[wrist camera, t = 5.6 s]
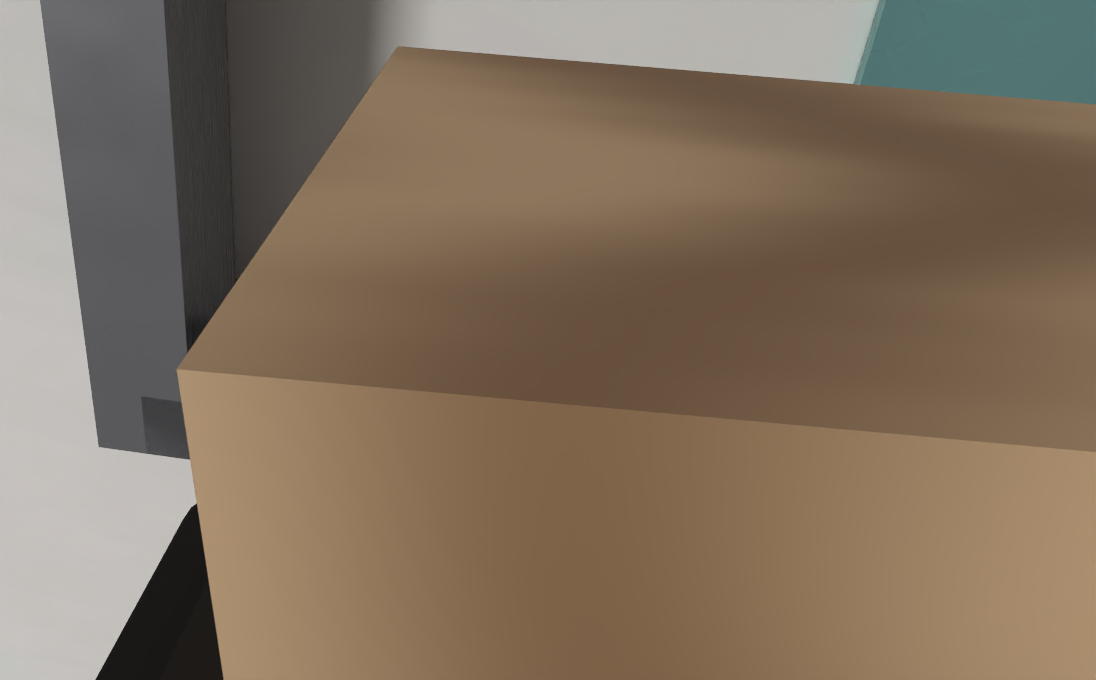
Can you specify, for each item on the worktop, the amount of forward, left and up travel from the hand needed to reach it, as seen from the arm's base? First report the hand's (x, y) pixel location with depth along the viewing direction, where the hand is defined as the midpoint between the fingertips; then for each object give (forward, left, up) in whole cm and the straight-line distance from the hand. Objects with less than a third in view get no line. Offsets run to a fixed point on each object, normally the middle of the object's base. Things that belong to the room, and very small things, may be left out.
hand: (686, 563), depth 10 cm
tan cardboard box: (0, 0, -1) cm, 1 cm away
